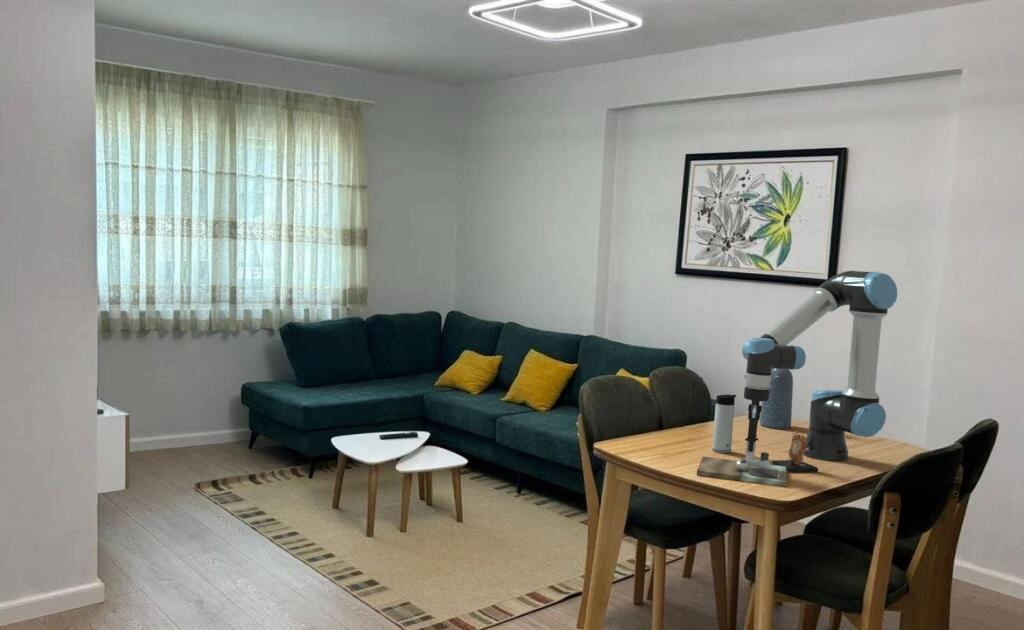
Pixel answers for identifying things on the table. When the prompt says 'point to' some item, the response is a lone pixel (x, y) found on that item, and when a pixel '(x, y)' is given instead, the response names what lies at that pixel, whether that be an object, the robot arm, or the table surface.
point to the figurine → (796, 456)
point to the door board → (742, 472)
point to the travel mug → (723, 423)
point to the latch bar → (753, 462)
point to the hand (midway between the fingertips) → (749, 461)
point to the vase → (778, 401)
